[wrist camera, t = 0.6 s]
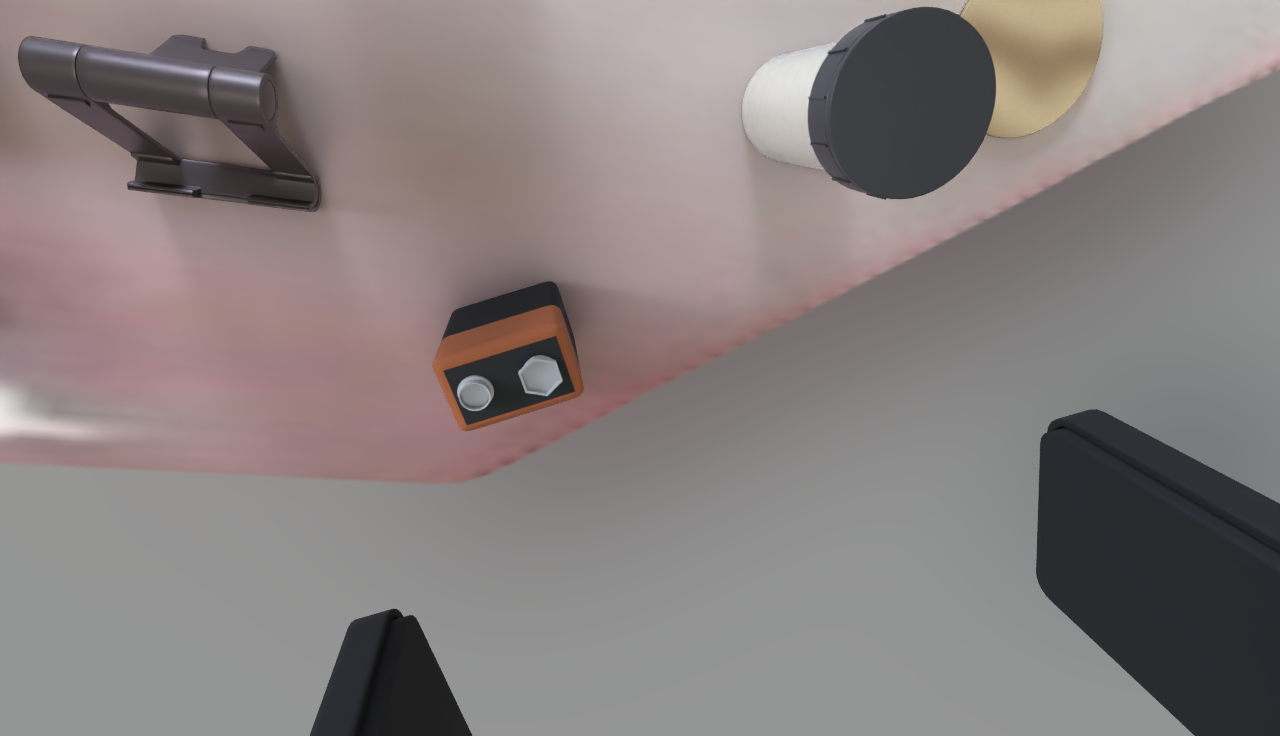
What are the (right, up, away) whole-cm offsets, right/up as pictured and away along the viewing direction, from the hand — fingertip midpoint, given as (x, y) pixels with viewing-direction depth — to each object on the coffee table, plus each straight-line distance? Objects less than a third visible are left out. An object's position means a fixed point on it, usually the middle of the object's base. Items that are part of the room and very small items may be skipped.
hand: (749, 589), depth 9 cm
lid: (+10, +14, +17) cm, 24 cm away
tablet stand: (-23, +16, +25) cm, 38 cm away
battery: (-10, +6, +32) cm, 34 cm away
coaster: (+22, +23, +30) cm, 44 cm away
